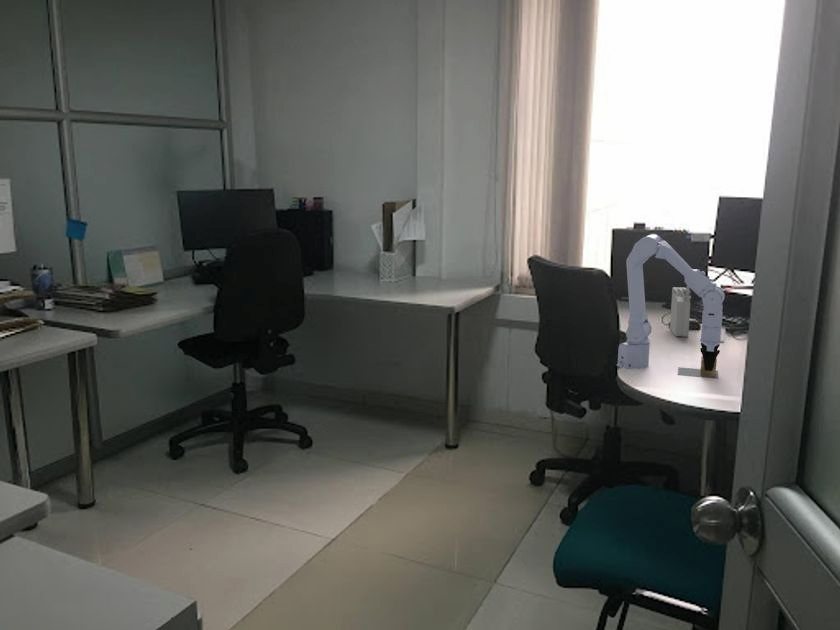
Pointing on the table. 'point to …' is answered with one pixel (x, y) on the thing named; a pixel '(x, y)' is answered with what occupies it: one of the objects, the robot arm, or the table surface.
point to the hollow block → (707, 373)
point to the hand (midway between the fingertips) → (708, 367)
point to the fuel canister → (680, 311)
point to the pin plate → (693, 373)
